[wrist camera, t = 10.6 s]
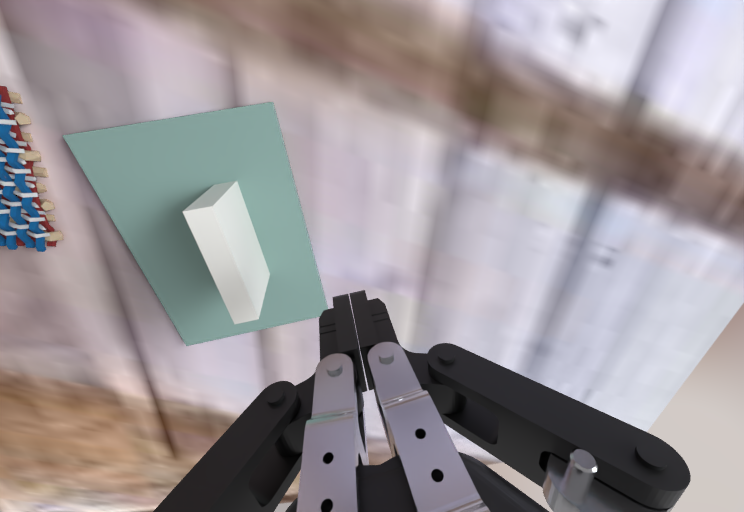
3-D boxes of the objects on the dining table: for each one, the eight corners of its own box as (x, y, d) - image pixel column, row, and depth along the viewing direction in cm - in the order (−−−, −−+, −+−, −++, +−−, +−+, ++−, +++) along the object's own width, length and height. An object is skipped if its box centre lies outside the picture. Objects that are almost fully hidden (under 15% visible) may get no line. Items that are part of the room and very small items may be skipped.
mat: (71, 134, 20) (62, 135, 19) (273, 102, 21) (271, 101, 20) (189, 339, 28) (186, 346, 27) (328, 309, 29) (328, 314, 28)
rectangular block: (250, 278, 25) (214, 184, 22) (270, 274, 26) (236, 180, 22) (234, 324, 20) (182, 211, 16) (258, 319, 20) (212, 206, 17)
